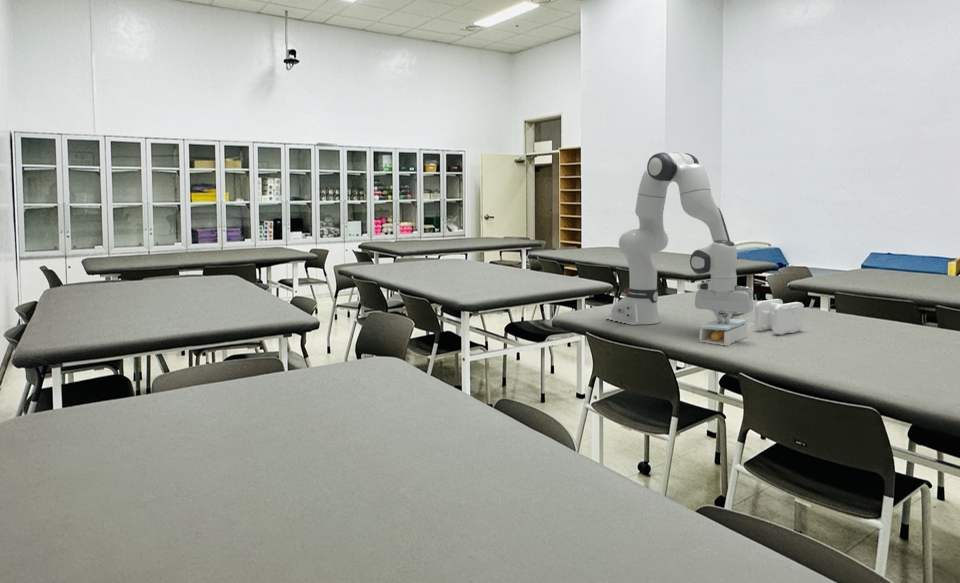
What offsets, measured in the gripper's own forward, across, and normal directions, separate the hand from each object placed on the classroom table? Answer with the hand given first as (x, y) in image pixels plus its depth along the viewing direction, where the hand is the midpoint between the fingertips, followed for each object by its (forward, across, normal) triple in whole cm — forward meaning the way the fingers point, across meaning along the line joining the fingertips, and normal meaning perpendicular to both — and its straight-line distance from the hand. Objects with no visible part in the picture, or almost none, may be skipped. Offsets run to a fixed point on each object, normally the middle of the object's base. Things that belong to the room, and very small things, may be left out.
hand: (723, 322), depth 232 cm
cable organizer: (+7, -11, -25) cm, 28 cm away
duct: (+6, 0, 0) cm, 6 cm away
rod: (+5, -1, 0) cm, 5 cm away
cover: (+1, 0, 0) cm, 1 cm away
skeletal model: (+6, +17, -47) cm, 51 cm away
